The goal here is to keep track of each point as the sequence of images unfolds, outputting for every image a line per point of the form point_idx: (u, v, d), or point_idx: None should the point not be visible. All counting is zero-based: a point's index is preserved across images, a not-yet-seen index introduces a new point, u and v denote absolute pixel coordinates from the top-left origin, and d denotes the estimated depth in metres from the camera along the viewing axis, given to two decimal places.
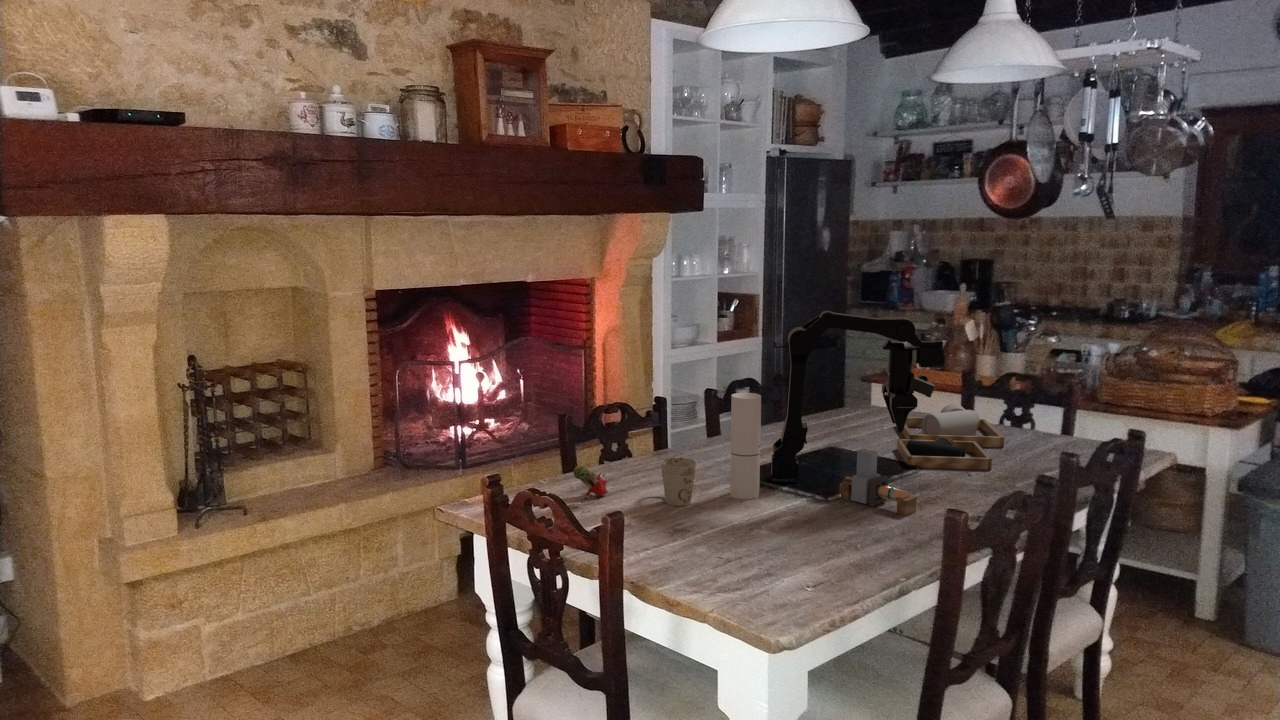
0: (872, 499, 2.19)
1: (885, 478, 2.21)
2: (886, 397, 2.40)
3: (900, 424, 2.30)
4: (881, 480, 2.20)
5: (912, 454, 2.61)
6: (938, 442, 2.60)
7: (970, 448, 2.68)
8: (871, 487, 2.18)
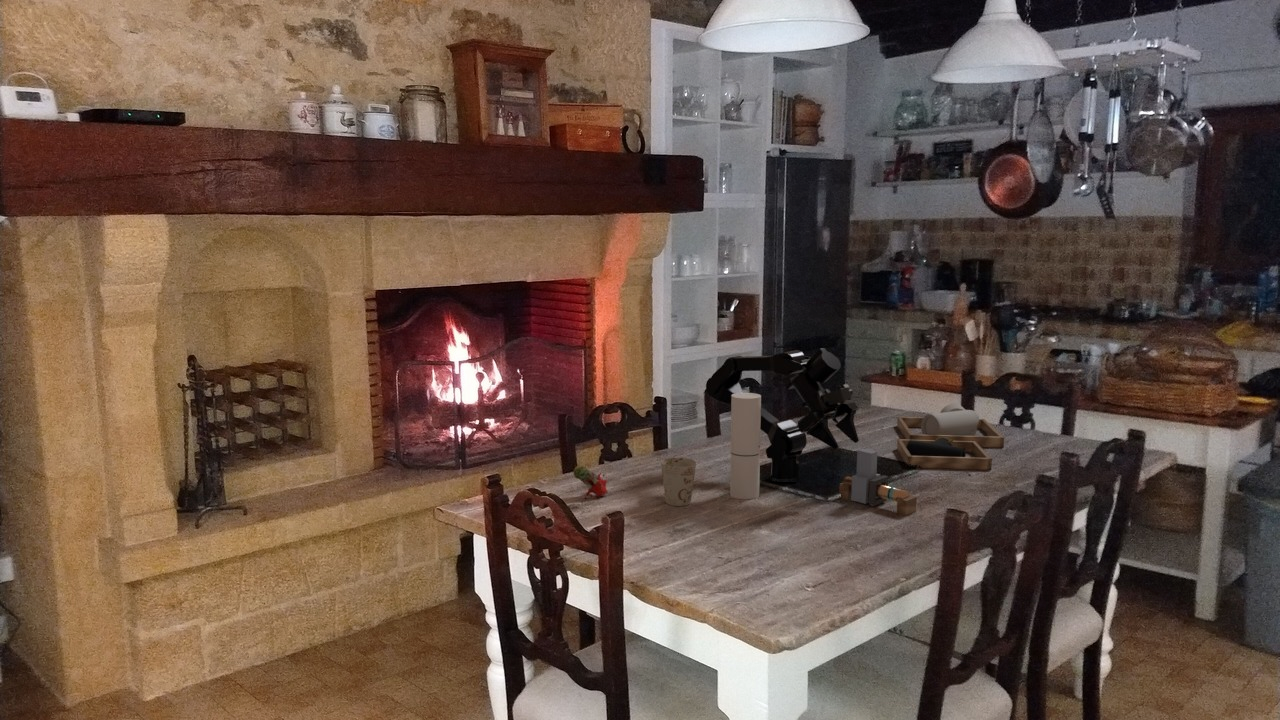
0: (872, 499, 2.19)
1: (885, 478, 2.21)
2: (837, 424, 2.33)
3: (830, 441, 2.23)
4: (881, 480, 2.20)
5: (912, 454, 2.60)
6: (938, 442, 2.60)
7: (970, 448, 2.68)
8: (871, 487, 2.18)
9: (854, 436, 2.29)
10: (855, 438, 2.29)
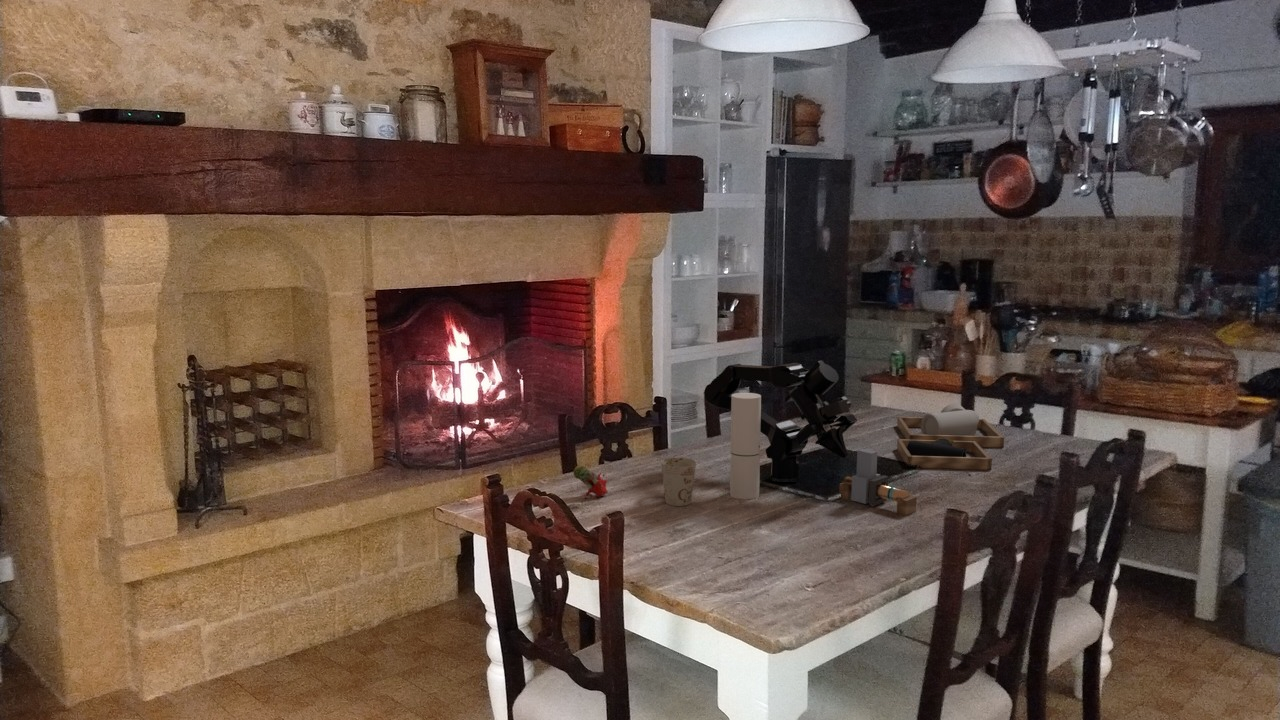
0: (872, 499, 2.19)
1: (885, 478, 2.21)
2: None
3: (838, 451, 2.26)
4: (881, 480, 2.20)
5: (913, 455, 2.60)
6: (939, 443, 2.59)
7: (970, 448, 2.68)
8: (871, 487, 2.18)
9: None
10: None
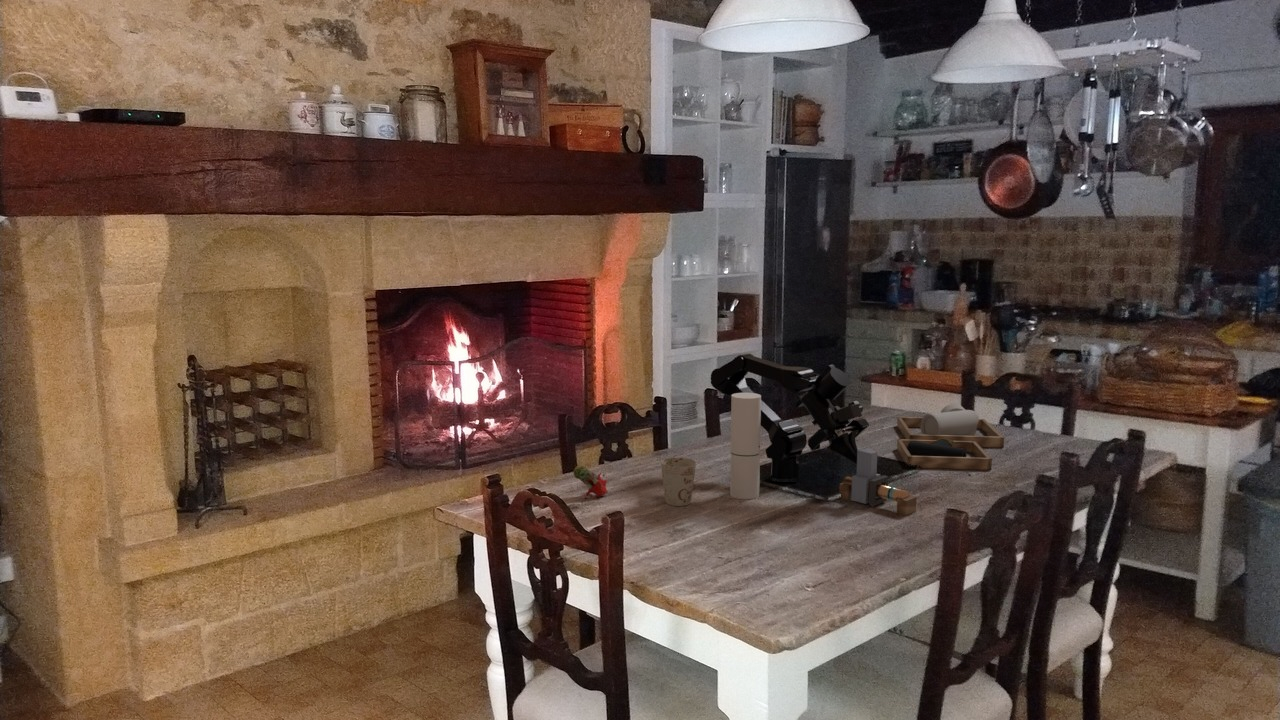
0: (872, 499, 2.19)
1: (885, 478, 2.21)
2: None
3: (851, 456, 2.24)
4: (881, 480, 2.20)
5: None
6: (939, 443, 2.59)
7: (970, 448, 2.68)
8: (871, 487, 2.18)
9: None
10: None
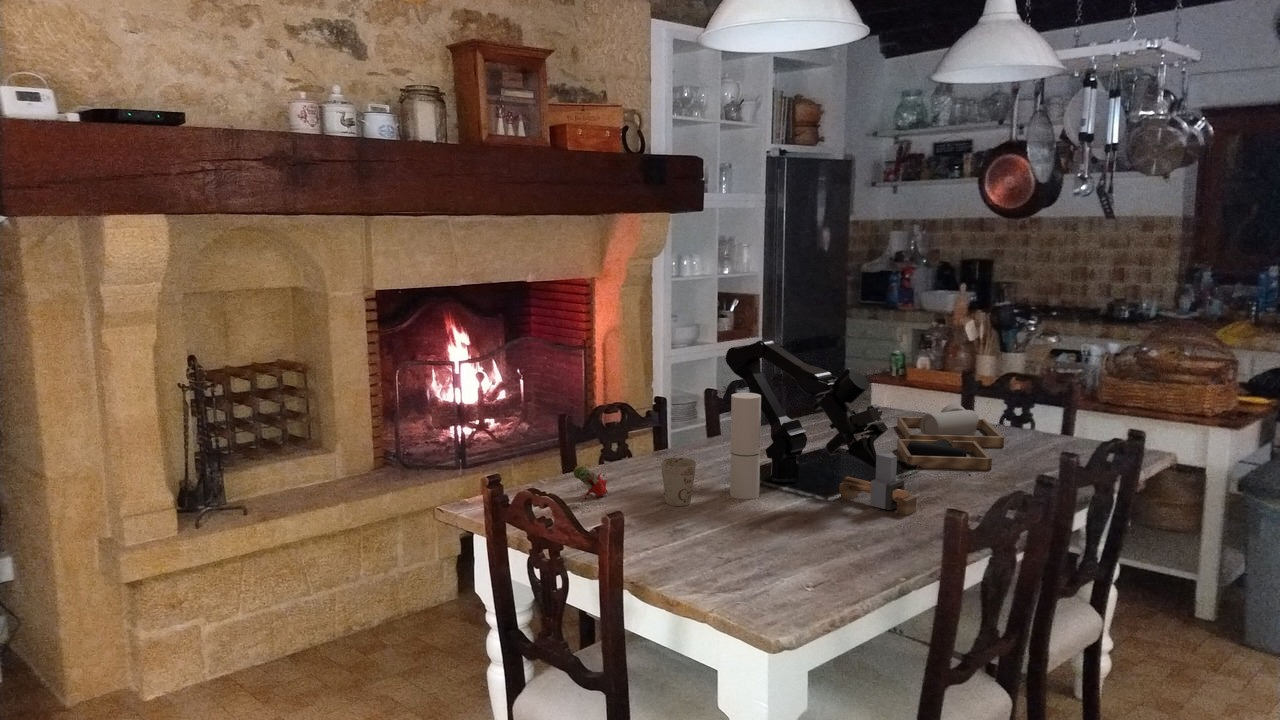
0: (888, 503, 2.15)
1: (901, 482, 2.18)
2: None
3: (869, 460, 2.20)
4: (897, 484, 2.17)
5: None
6: (939, 443, 2.59)
7: (970, 448, 2.68)
8: (887, 491, 2.15)
9: None
10: None
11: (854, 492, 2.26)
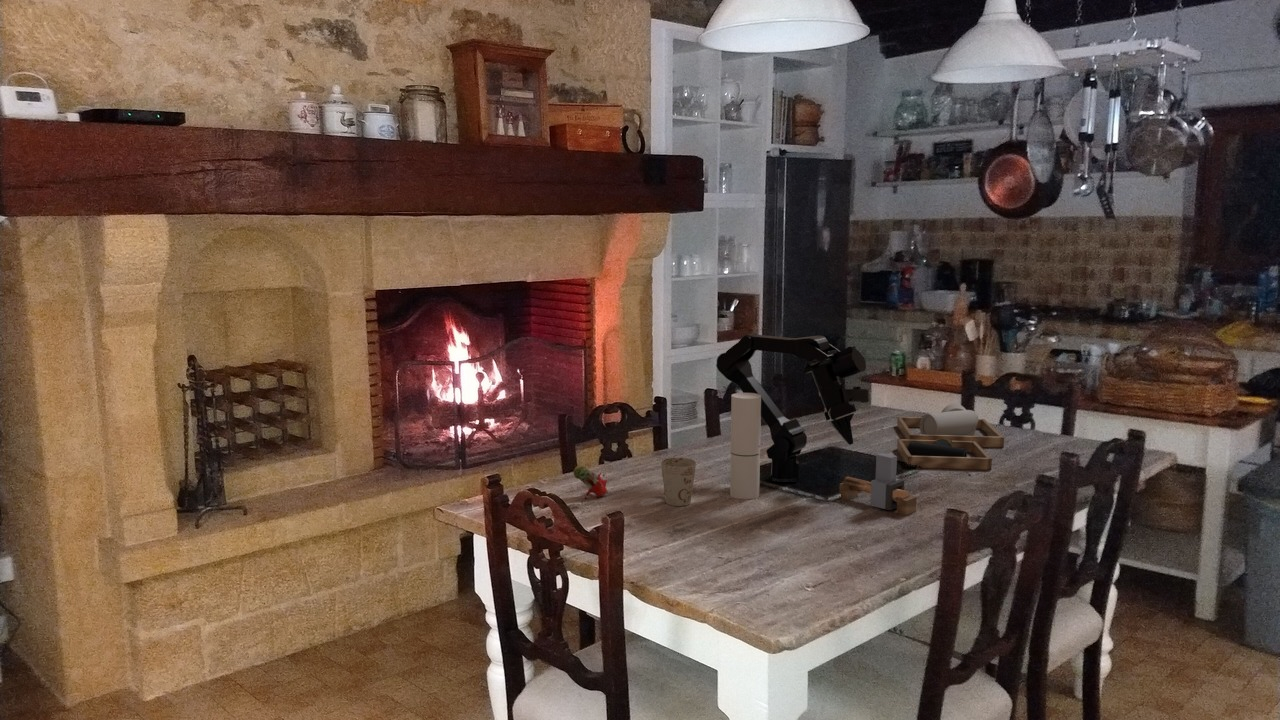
0: (888, 503, 2.15)
1: (901, 482, 2.18)
2: None
3: (848, 436, 2.27)
4: (897, 484, 2.17)
5: None
6: (939, 443, 2.59)
7: (970, 448, 2.68)
8: (887, 491, 2.15)
9: None
10: None
11: (854, 492, 2.26)
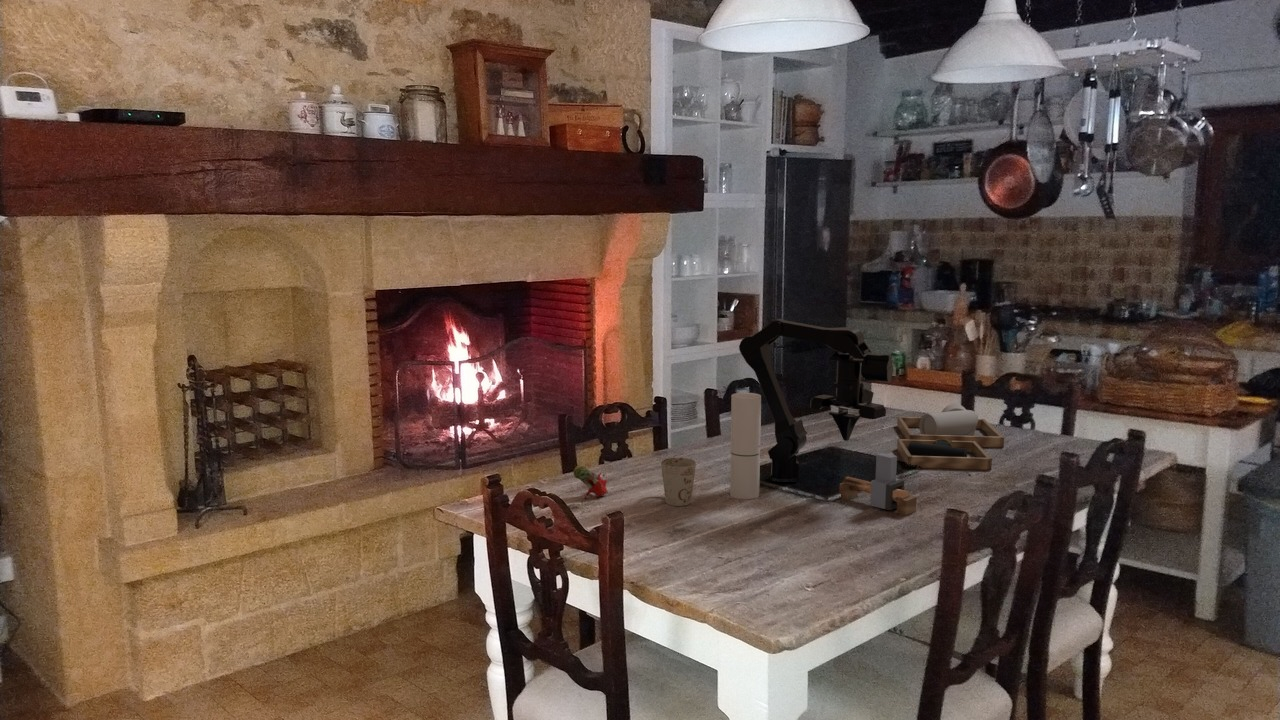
0: (888, 503, 2.15)
1: (901, 482, 2.18)
2: (839, 415, 2.30)
3: (849, 432, 2.31)
4: (897, 484, 2.17)
5: None
6: (939, 444, 2.58)
7: (970, 448, 2.68)
8: (887, 491, 2.15)
9: None
10: None
11: (854, 492, 2.26)
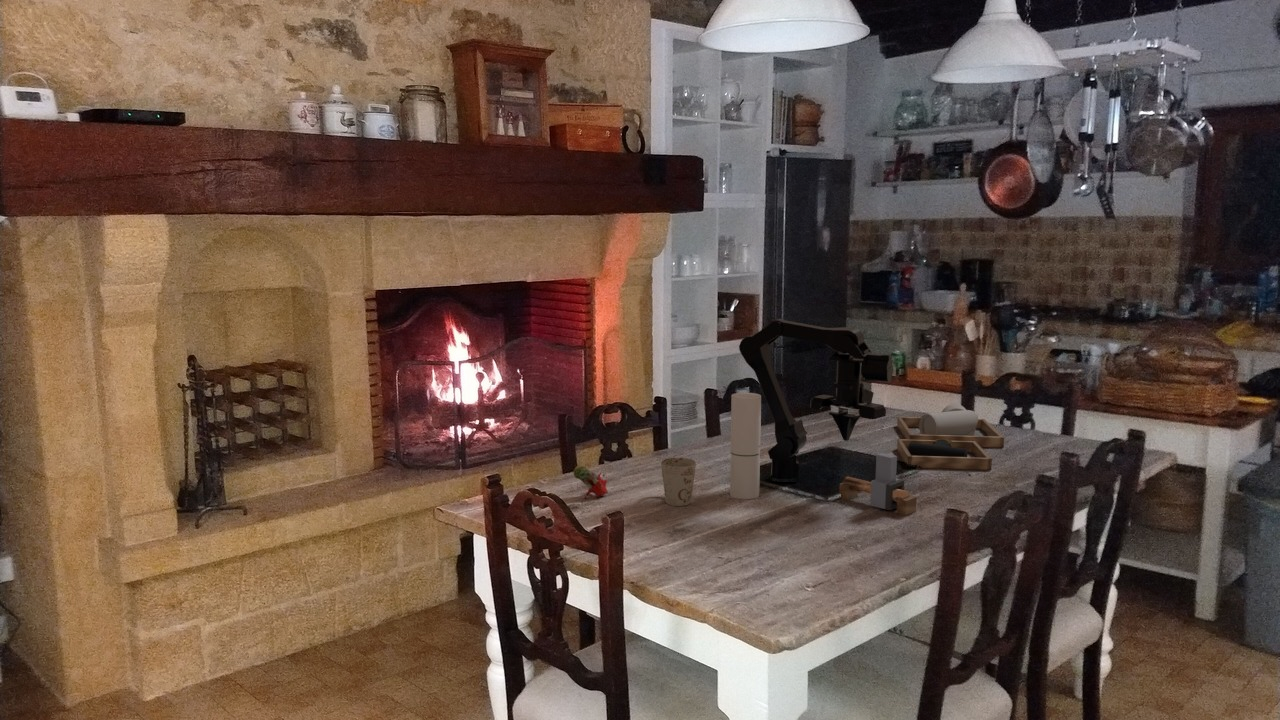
0: (888, 503, 2.15)
1: (901, 482, 2.18)
2: (839, 415, 2.30)
3: (849, 432, 2.31)
4: (897, 484, 2.17)
5: None
6: (939, 444, 2.58)
7: (970, 448, 2.68)
8: (887, 491, 2.15)
9: None
10: None
11: (854, 492, 2.26)
